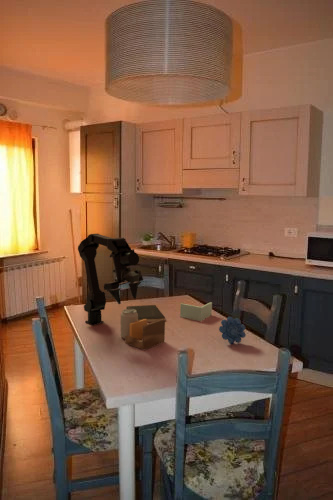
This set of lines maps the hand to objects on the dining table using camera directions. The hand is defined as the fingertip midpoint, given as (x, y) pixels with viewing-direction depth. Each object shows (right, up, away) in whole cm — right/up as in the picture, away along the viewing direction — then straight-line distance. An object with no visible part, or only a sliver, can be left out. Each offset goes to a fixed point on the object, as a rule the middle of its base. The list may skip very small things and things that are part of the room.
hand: (127, 301), depth 180 cm
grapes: (+45, -18, -6) cm, 49 cm away
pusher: (+5, -16, -3) cm, 17 cm away
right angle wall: (+32, -12, +32) cm, 47 cm away
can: (+1, -16, 0) cm, 16 cm away
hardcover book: (+6, -12, +32) cm, 35 cm away
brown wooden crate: (+8, -17, -6) cm, 19 cm away
